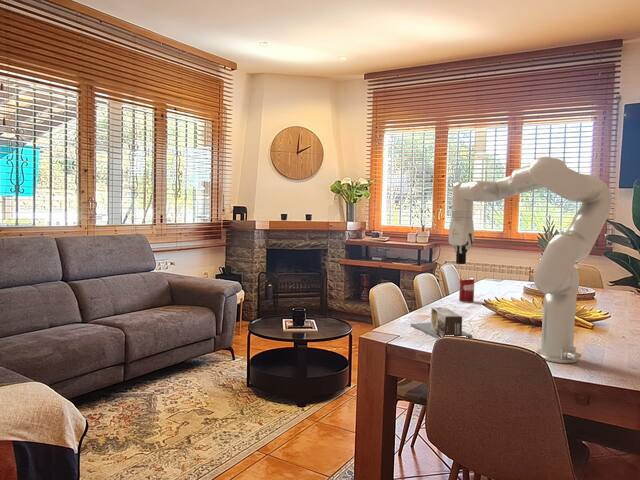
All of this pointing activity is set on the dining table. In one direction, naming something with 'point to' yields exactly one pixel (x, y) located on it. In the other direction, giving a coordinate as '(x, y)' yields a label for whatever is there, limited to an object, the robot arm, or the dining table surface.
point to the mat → (427, 329)
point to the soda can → (466, 290)
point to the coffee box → (445, 322)
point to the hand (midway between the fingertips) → (460, 263)
